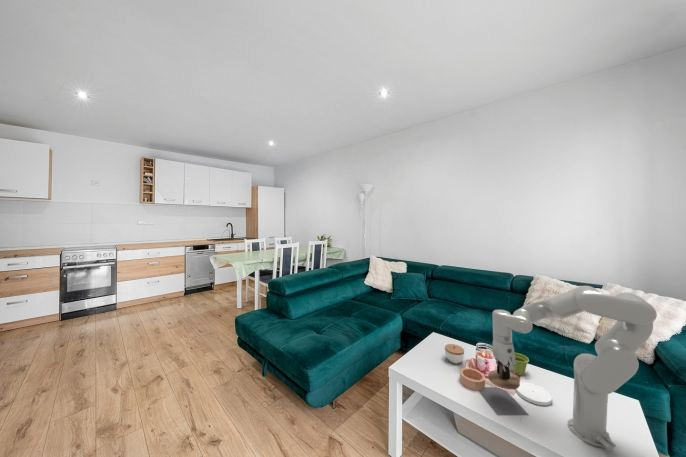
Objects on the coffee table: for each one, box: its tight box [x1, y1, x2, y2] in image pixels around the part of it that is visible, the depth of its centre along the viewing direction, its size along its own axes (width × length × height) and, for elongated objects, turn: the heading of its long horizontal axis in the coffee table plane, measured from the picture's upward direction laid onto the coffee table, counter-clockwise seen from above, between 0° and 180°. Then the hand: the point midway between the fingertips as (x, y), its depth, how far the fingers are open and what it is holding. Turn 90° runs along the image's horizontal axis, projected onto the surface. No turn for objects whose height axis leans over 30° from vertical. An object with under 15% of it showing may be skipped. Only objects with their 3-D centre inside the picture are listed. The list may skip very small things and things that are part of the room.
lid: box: [487, 363, 521, 390], centre depth 116 cm, size 12×12×7 cm
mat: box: [478, 386, 530, 416], centre depth 117 cm, size 18×14×1 cm
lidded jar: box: [444, 343, 465, 365], centre depth 150 cm, size 11×11×9 cm
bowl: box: [459, 367, 486, 392], centre depth 129 cm, size 11×11×5 cm
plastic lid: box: [515, 381, 553, 406], centre depth 120 cm, size 14×14×2 cm
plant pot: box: [511, 352, 530, 376], centre depth 139 cm, size 9×9×9 cm
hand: (503, 375), depth 116 cm, fingers closed on lid, 3 cm apart
